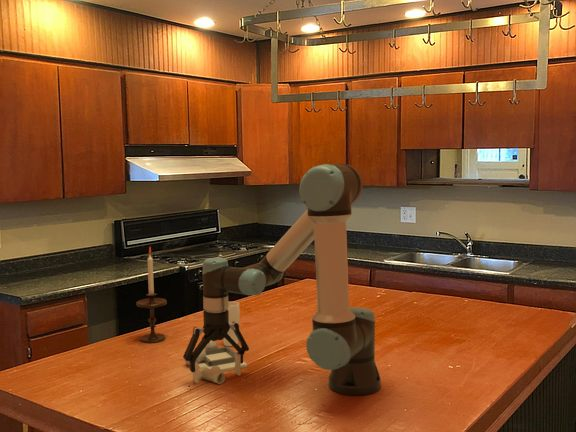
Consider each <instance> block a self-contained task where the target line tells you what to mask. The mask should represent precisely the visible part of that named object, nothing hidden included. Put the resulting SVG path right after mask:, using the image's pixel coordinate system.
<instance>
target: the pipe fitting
mask: <svg viewBox="0 0 576 432" xmlns="http://www.w3.org/2000/svg"><path fill="white" fill-rule="evenodd" d="M198 379H202V380H206V381H209V382H212V383H215V384H217V385H222V384H223V383H224V382H225V380H226V374H225V373H224V371H223V372H221V369H220V367H218V366H213V367H212V368H211V369H209V368H207V367H201V368H200V369H198Z"/></svg>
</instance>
